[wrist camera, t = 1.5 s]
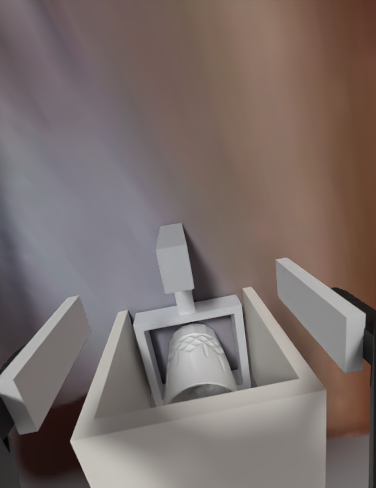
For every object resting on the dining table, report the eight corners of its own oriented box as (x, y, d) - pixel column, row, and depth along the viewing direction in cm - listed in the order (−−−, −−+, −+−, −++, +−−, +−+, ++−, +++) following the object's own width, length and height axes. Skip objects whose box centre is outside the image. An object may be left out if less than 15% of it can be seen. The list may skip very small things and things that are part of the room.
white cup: (222, 364, 34) (243, 439, 24) (167, 369, 33) (166, 448, 24) (222, 316, 31) (244, 378, 22) (163, 321, 31) (159, 387, 21)
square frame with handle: (114, 234, 27) (89, 262, 19) (226, 214, 27) (251, 232, 19) (156, 390, 34) (152, 461, 25) (245, 373, 34) (270, 437, 26)
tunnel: (118, 312, 30) (69, 441, 15) (251, 286, 30) (326, 389, 16) (142, 394, 34) (122, 558, 20) (259, 371, 34) (325, 515, 20)
